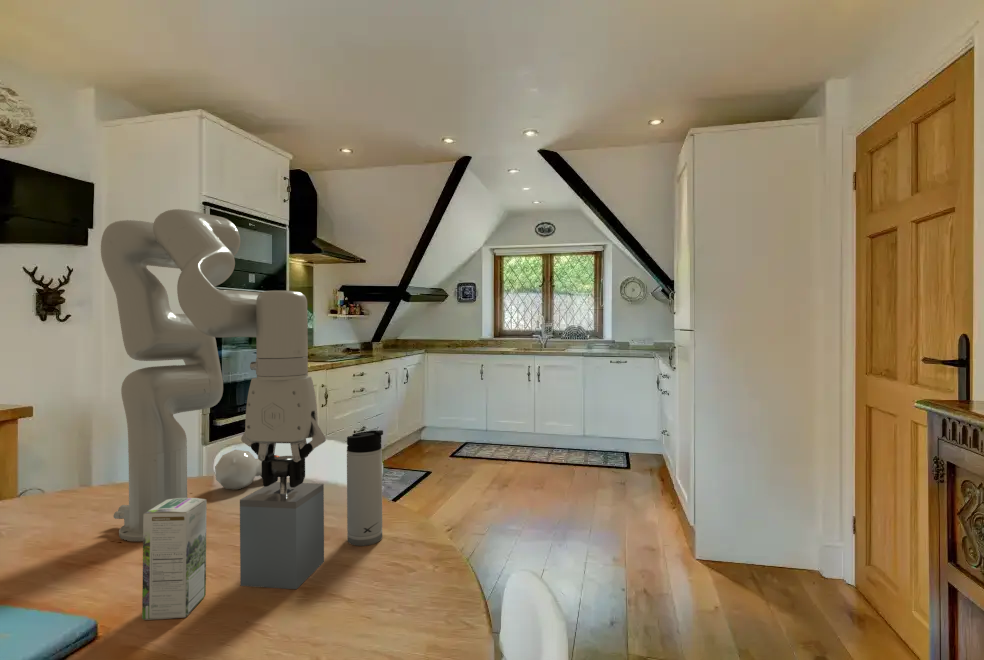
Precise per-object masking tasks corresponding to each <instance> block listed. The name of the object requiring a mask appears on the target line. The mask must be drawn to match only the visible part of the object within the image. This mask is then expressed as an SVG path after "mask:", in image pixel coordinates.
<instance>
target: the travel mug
mask: <svg viewBox="0 0 984 660" xmlns="http://www.w3.org/2000/svg"><path fill="white" fill-rule="evenodd" d="M383 435H384V430H383V429H382V430H367V431H366V430H365V431H361V432H355V433H352V434H351V435H349V436H348V435H347V437H346V445H347V446H346V507H347V510H346V513H347V514H346V521H347V522H346V524H347V525H346V526H347V527H346V529H347V531H346V532H347V536H346V537H347V542H348V544H350V545H352V546H356V547H365V546H366V547H367V546H371V545H375V544H377V543H378V542H380V541H381V540H382V538H383V455H382V453H383V451H382V450H383V448H382V436H383Z"/></svg>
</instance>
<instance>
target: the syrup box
mask: <svg viewBox="0 0 984 660" xmlns="http://www.w3.org/2000/svg"><path fill="white" fill-rule="evenodd" d="M206 574H207V499H206V498H198V497H187V498H175V499H168V500H166V501H164V502H162V503H161V504H159V505H157V506H156V507H154V508H152V509H151V510H149V511H147V512H146V513H144V515H143V541H142V598H141V606H142V609H141V614H142V615H141V619H142V620H144V621H145V620H146V621H148V620H149V621H150V620H151V621H152V620H167V619H168V620H169V619H180V618H187V617H188V616H189V614H191V612H192V611H194V609H195V608H196V607H197V606H198V605H199V603H201V601H202V600H203V599H204V598H205V597H206V595H207V594H206V593H207V592H206V591H207V590H206V589H207V587H206V586H207V575H206Z"/></svg>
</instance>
